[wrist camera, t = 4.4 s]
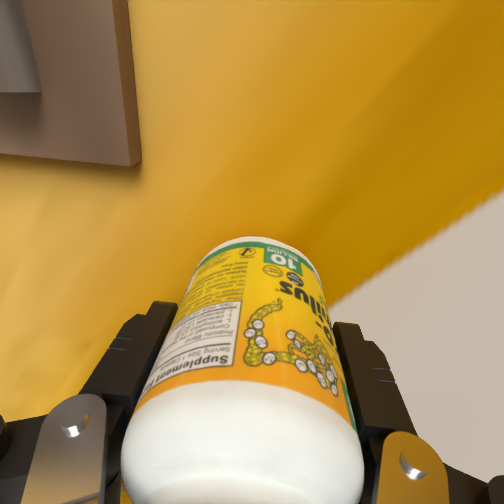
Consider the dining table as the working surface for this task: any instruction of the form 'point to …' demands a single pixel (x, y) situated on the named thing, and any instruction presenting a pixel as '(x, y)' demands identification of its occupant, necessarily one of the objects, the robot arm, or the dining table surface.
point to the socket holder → (68, 81)
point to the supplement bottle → (246, 391)
